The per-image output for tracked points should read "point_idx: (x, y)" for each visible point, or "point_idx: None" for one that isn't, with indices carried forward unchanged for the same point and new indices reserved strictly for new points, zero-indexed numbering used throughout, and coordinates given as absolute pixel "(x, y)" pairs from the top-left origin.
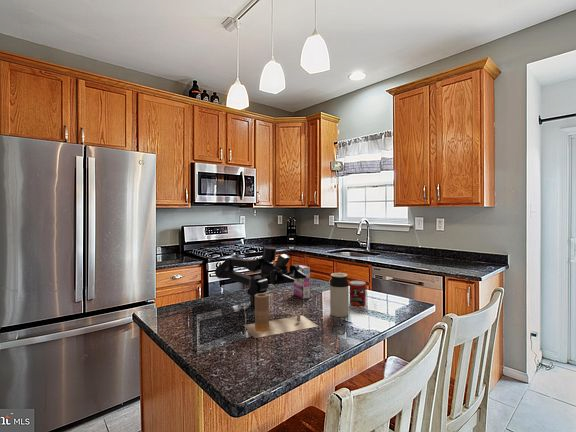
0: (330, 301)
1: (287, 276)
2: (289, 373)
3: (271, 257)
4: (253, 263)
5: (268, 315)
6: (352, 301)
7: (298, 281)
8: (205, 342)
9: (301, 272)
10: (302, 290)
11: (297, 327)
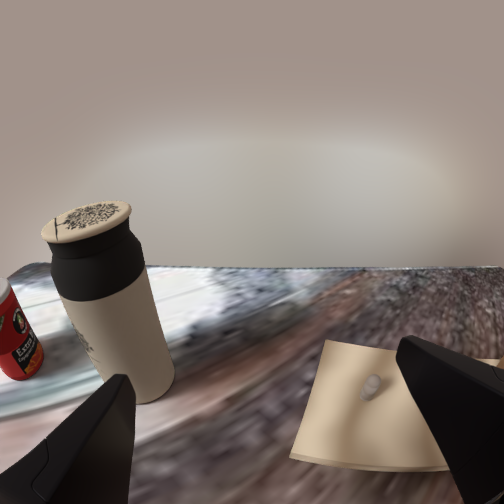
0: (142, 361)
1: (486, 368)
2: (454, 273)
3: None
4: None
5: (500, 360)
6: (31, 357)
7: None
8: None
9: (57, 439)
10: None
11: (393, 365)
